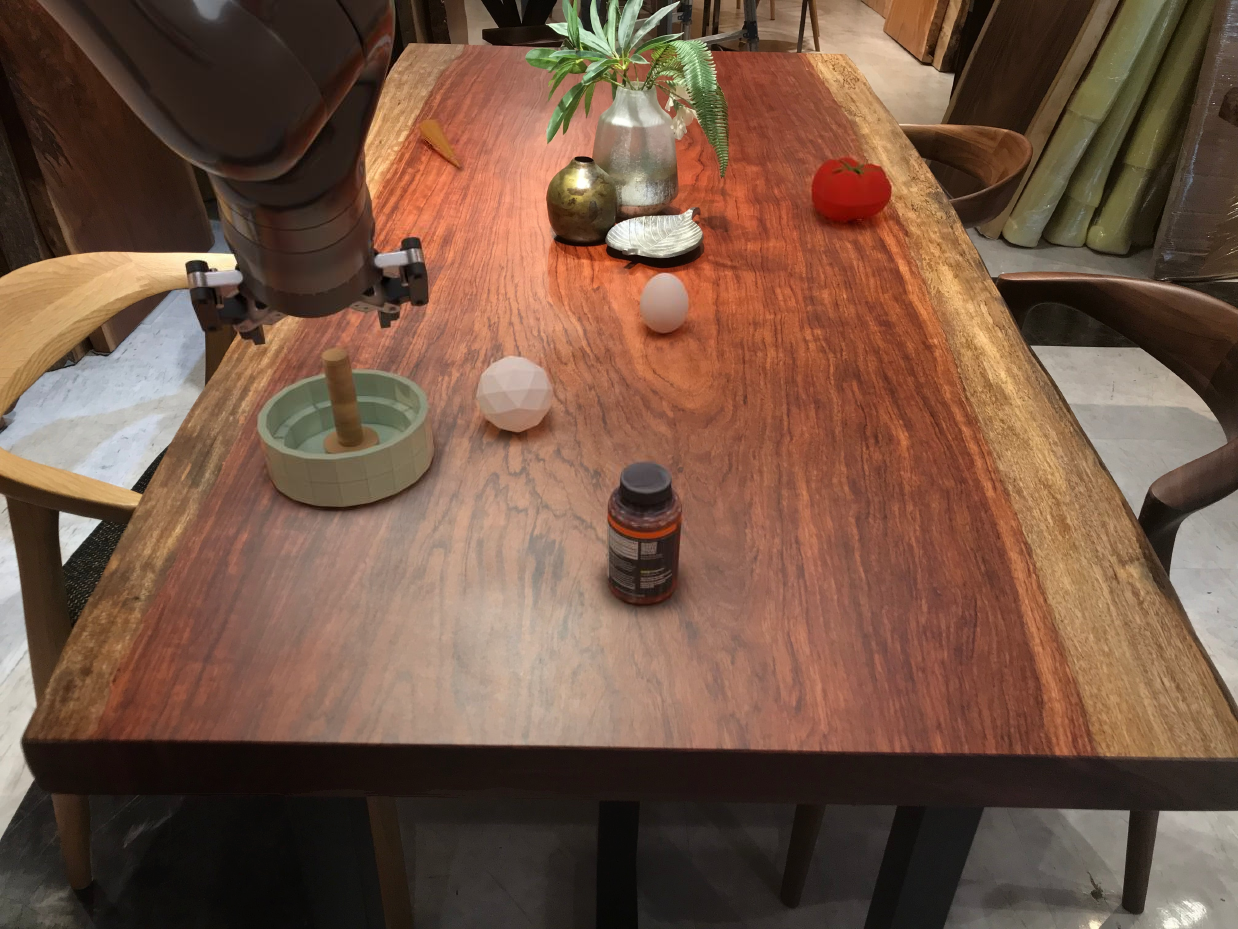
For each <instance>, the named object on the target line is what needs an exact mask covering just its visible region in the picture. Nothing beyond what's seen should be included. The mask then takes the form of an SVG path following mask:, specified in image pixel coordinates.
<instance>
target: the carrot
mask: <svg viewBox="0 0 1238 929" xmlns="http://www.w3.org/2000/svg"><path fill="white" fill-rule="evenodd" d="M418 128H419V130H418V131H419V136H420V135H421V136H422V137H424V138H425V139H426V140H428V141H429V142H430V143H432V144H433V145H434V146H435V147H437V148H438V149H440V150H441V151H442V152H444V153H445V154H447V155H449V156H451V157H452V158H455V155H456V152H455V151H454V148H453V147H452V145H451V143H450V141H449V139H448V137H447V134H446V133H445V131H444V129H443V128H442V125H441V124H439V123H438V122H437V121H436V120H435V119H432V118H430V119H429V118H428V119H423V120H422V122H420V124H419V125H418ZM423 141H424V142H426V141H425V140H423ZM428 145H429V146H431V145H430V144H428ZM432 148H433V149H434V150H435V151H436V152H438V154H440V155H441V156H442V157H444V158H445V159H446V161H448V162H450V163H451V164H452V165H454V166H456V167H457V168H459V169H461V165H460V163H459V159H458V158H457V157H456V160H453V159H451V158H449V157H447V156H445V155H444V154H443V153H441V152H440V151H438V150H437V149H435V148H434V147H432Z"/></svg>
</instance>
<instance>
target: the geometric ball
mask: <svg viewBox="0 0 1238 929" xmlns="http://www.w3.org/2000/svg"><path fill="white" fill-rule="evenodd" d="M553 395H554V388H553V387H552V384H551V381H550V379H549V376H548V375H547V372H546V369H544V368H543V367H541V366H539V365H538V364H536V363H535V362H534V361H532V360H530V359H528V358H526V357H522V356H517V355H508V356H505V357H504V358H500V359H498V360H496V361H494V362H492V363H490V365H489V366H488V367H486V369H485V370H484V371H483V372H482V374H481V375H480V378H479V381H478V385H477V389H476V394H475V399H476V402H477V404H478V406H479V408H480V410H481V412H482V415H483V416H484V419H486V420H487V421H488V422H489V423H491V424H493V425H494V426H495V427H497V428H498V429H501V430H505V431H509V432H513V433H521V432H523V431H526V430H529V429H531V428H534V427H535V426H538V425H539V423H540V422H541V421H542V420H543V418H545V416H547V415H546V414H548V412H549V410H550V409H551V407H552V406H551V405H552V400H553Z"/></svg>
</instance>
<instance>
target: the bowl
mask: <svg viewBox="0 0 1238 929" xmlns="http://www.w3.org/2000/svg"><path fill="white" fill-rule="evenodd" d="M351 369H352V374H353V380H354V386H355V391H356V397H357V403H358V408H359V414H360V420H361V425H362V426H366V427H369V428H371V429H373V430H375V431H376V432H377V434H378V436H379V442H380V444H379V445H376V446H373V447H370V448H367V449H364V450H360V451H353V452H346V453H339V454H325V450H324V445H323V443H324V440H325V438H326V437H327V436H328V435H329V434H330V433H331V432H333V431H335V430H336V428H335V423H334V418H333V413H332V407H331V402H330V397H329V392H328V387H327V382H326V377H325V372H324V373H320V374H316V375H312V376H310V377H306V378H303V379H300V380H298V381H296V382H294V383H292V384H289V385H288V386H286V387H284V388H282V389H281V390H279V391H278V392H276V394H274V395H273V396H272V397H270V398H269V399H268V400H267V401H266V402H265V404H264V405H263V407H262V408H261V409H260V411H259V413H258V415H257V423H256V424H257V425H256V431H257V434H258V438H259V443H260V447H261V449H262V454H263V458H264V461H265V466H266V469H267V473H268V477H269V478H270V480H271V482H272V483H273V484H274V486H275V488H276V489H277V490H278V491H279V492H281V493H283V495H285V496H287V497H288V498H290V499H291V500H294V501H297V502H301V503H304V504H308V505H312V506H316V507H335V508H336V507H337V508H339V507H340V508H345V507H351V506H352V507H353V506H358V505H364V504H370V503H374V502H376V501H379V500H383V499H385V498H389V497H391V496H395V495H396V494H398V493H400V492H401V491H403V490H405V489H407V488H408V487H410V486H411V485H413V484H415V483H416V482H417V481H418V480H419V479H420V478H421V477H422V476H423V474H425V472H427V470H428V469H429V468H430V465H431V463H432V460H433V457H434V454H435V445H434V437H433V429H432V420H431V412H430V406H429V401H428V396H427V393H426V392H425V391H424V390H423V389H422V387H420V385H419V384H418V383H417V382H414V380H411V379H409V378H407V377H405V376H404V375H401V374H398V373H393V372H389V371H385V370H381V369H363V368H361V369H360V368H351Z"/></svg>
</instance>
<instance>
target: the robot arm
mask: <svg viewBox="0 0 1238 929" xmlns="http://www.w3.org/2000/svg"><path fill="white" fill-rule="evenodd" d="M36 1H37V2H38V3H39V4H40V5H41V6H42V7H43V9H44V10H45V11H46V12H47V13H48V15H50V16H51V17H52V18H53V19H54V20H55V21H56V22H57V23H58V24H59V26H60V27H62V29H63V30H64V31H65V33H66V34H67V35H68V36H69V37H70V38H71V39H72V41H73V42H74V43H75V44H76V45H77V46H78V47H79V49H80V50H81V51H82V52H83V53H84V55H85V56H86V57H87V58H88V59H89V60H90V62H91V63H92V64H93V65H94V67H95V68H96V69H97V71H99V73H100V74H101V75H102V76H103V77H104V79H105V80H106V81H107V82H108V83H109V85H110V86H111V87H112V88H113V89H114V92H116V94H118V96H119V97H120V98H121V99H122V100H123V102H124V103H125V104H126V105H127V106H128V107H129V109H130V110H131V111H132V113H133V114H134V115H136V116H137V118H139V120H140V121H141V122H142V123H143V124H144V125H145V126H146V127H147V128H148V129H149V130H150V131H151V132H152V133H153V134H154V135H155V137H156V138H158V139H159V140H160V141H161V142H162V143H163V144H164V145H165V146H167V147H168V148H169V149H170V150H171V151H173V152H174V153H175V154H177V156H180V157H181V158H183V159H184V160H186V161H187V162H189V163H190V164H192V165H193V166H196V167H198V168H199V169H202V170H203V171H205V173H206V175H207V177H208V181H209V183H210V186H211V188H212V190H213V193H214V196H215V198H216V202H217V211H218V217H219V220H220V224H221V227H222V230H223V238H224V240H225V242H226V245H227V247H228V249H229V251H230V252H231V254H233V257H234V259H235V262H236V264H235V266H234V269H229V270H227V269H226V270H219V269H218V268H216V267H210V266H209V264H208V261H206V260H203V259H193V260H192V259H191V260H189V261H186V262H185V264H184V266H185V272H186V278H187V286H188V290H189V296H190V302H191V306H192V308H193V311H194V313H195V315H196V319H197V320H198V323H199V325H200V326H199V327H200V329H201V331H202V332H204V333H210V334H215V333H218V332H221V331H223V329H224V327H223V326H233V330H234V331H235V332H238V334H239V336H240V338H241V339H242V340H245V341H249V340H252V343H253V344H254V346H261V345H262V346H263V345H266V336H265V331H264V326H274V325H275V324H278V322H280V321H282V320H283V319H284V318H286V317H288V316H289V317H294V318H298V319H299V318H300V319H321V318H325V317H329V316H333V315H335V314H339V313H340V312H342V311H344V310H346V309H350V310H353V311H357V312H360V313H364V314H369V313H372V312H375V311H377V316H378V321H379V326H380V329H390V328H392V322H394V321H398V320H400V318H401V310H403V307H402V305H403V304H405V303H409V302H410V305H411V306H412V307H424V306H425V305H428V304H430V298H429V297H430V296H429V295H430V294H429V276H428V270H427V265H426V260H425V255H424V252H423V246H422V241H421V238H420V237H417V236H408V237H406V238H404V239H402V240H401V241H400V245H401V247H397V248H395V249H394V251H392V252H384V253H380V252H379V250H378V249H376V248H375V237H376V220H375V216H374V212H373V211H374V210H373V201H372V198H371V196H372V195H371V192H370V189H369V186H368V183H367V170H366V168H367V166H366V163H367V162H366V151H365V146H366V144H367V139H368V136H369V133H370V130H371V127H372V124H373V122H374V119H375V115H376V113H377V110H378V106H379V103H380V99H381V96H382V92H383V88H384V84H385V80H386V77H387V74H388V69H389V66H390V62H391V58H392V53H393V48H394V42H395V34H396V6H395V0H36Z"/></svg>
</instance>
